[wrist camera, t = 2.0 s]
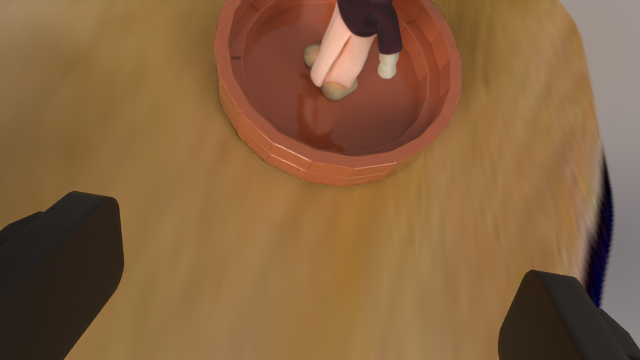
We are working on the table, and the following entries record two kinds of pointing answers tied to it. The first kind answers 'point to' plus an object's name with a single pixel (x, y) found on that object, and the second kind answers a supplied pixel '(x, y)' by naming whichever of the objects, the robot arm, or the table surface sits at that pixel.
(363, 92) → the terracotta plant saucer
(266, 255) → the table surface
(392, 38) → the grandmother figurine
